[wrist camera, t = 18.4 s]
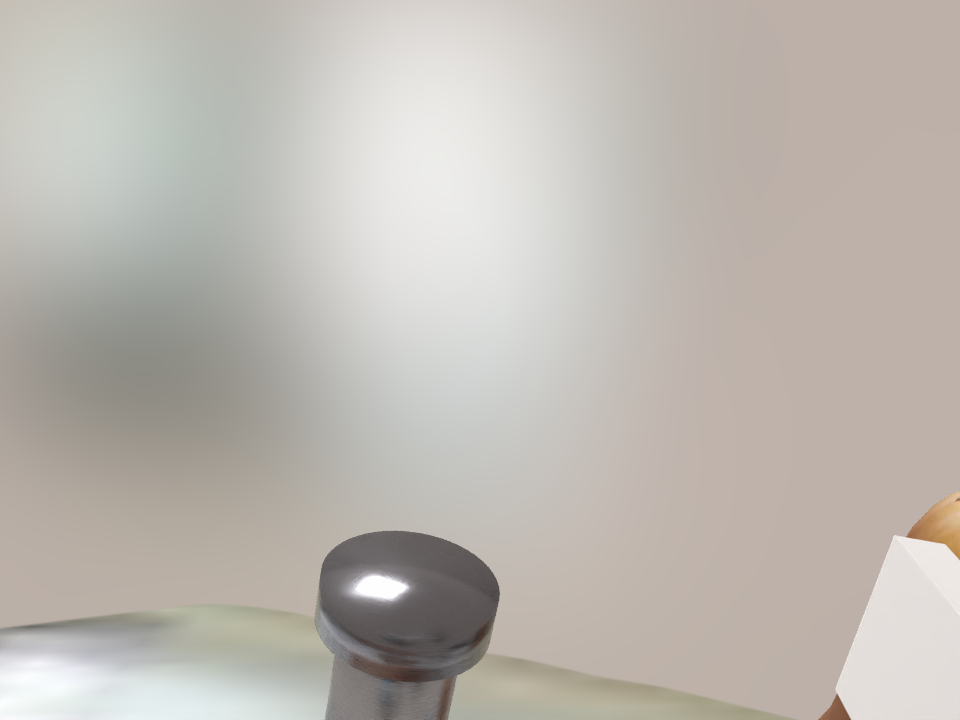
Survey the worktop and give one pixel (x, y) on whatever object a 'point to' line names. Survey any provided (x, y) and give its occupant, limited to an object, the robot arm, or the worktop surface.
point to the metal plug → (402, 623)
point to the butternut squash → (945, 523)
